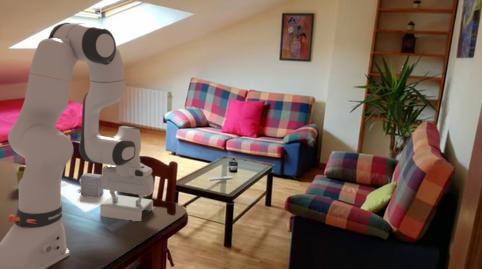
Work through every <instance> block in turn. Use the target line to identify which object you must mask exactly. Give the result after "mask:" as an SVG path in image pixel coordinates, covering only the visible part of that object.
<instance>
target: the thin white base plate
mask: <svg viewBox="0 0 482 269" xmlns="http://www.w3.org/2000/svg"><path fill="white" fill-rule="evenodd" d="M99 206H100V205H99ZM153 206H154V200H153V201H152V203H151V204H149V205H148V206H147V207H146V208H145V209H144V210H152V209H153V210H154V208H153ZM144 210H142V211H144ZM142 211H141V212H137V211H130V210H123V209H117V208H110V207H103V206H100V209H99V214H100V217H105V218H110V219H117V220H123V219H124V221H129V220H132V221H131V222H135V221H141V222H142V214H143V213H142Z"/></svg>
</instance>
